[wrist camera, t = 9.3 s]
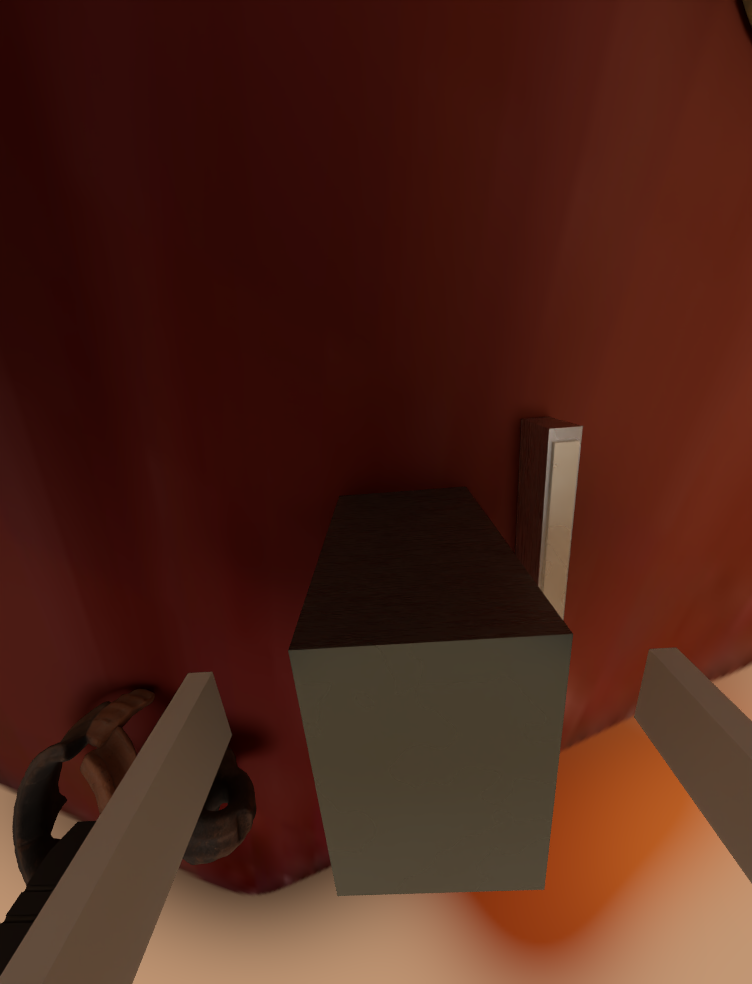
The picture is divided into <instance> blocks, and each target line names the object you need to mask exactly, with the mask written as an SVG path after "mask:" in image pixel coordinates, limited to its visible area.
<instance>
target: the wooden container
mask: <svg viewBox="0 0 752 984" xmlns="http://www.w3.org/2000/svg"><path fill="white" fill-rule="evenodd" d="M743 4H744V7H745V11H746V14H747V17H748V20H749V22H750V25H751V27H752V0H743Z"/></svg>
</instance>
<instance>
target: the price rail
mask: <svg viewBox="0 0 752 984" xmlns="http://www.w3.org/2000/svg"><path fill="white" fill-rule="evenodd" d="M582 428H583V426H580V425H577V424H573V423H569V422H566V421H562V420H559V419H555V418H552V417H539V418H527V419H521V434H520V456H519V478H518V500H517V522H516V545H515V555H516V556H517V558H518V559H519V560H520V562H521V563H522V565H523V566H524V567H525V569H526V570H527V571H528V573H529V574H530V576H531V577H532V578H533V580H534V581H535V582H536V584H537V585H538V587H539V588H540V589H541V591H542V592H543V593H544V595H545V596H546V598H547V599H548V600H549V602H550V603H551V604H552V606H553V607H554V609H555V610H556V611H557V613H558V614H559V615H560V617H561V618H562V620H563V618H564V608H565V598H566V588H567V578H568V568H569V558H570V548H571V538H572V528H573V518H574V508H575V498H576V488H577V478H578V468H579V458H580V448H581V438H582Z"/></svg>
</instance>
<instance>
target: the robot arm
mask: <svg viewBox="0 0 752 984" xmlns="http://www.w3.org/2000/svg"><path fill="white" fill-rule="evenodd" d="M634 718H635V719H636V720H637V722H638V723H639V724H640V726H641V727H642V729H643V730H644V732H645V733H646V734H647V736H648V737H649V739H650V740H651V742H652V743H653V744H654V746H655V747H656V749H657V750H658V751H659V753H660V754H661V756H662V757H663V758H664V760H665V761H666V763H667V764H668V765H669V767H670V768H671V770H672V771H673V773H674V774H675V776H676V777H677V778H678V780H679V781H680V783H681V784H682V785H683V787H684V788H685V790H686V791H687V793H688V794H689V795H690V797H691V798H692V800H693V801H694V802H695V804H696V805H697V807H698V808H699V809H700V811H701V812H702V814H703V815H704V817H705V818H706V819H707V821H708V822H709V824H710V825H711V826H712V828H713V829H714V831H715V832H716V833H717V835H718V836H719V838H720V839H721V841H722V842H723V843H724V845H725V846H726V848H727V849H728V850H729V852H730V853H731V855H732V856H733V858H734V859H735V860H736V862H737V863H738V865H739V866H740V867H741V869H742V870H743V872H744V873H745V875H746V876H747V877H748V879H749V880H750V881H751V883H752V721H751V720H750V719H749V718H748V717H747V716H746V715H745V714H744V713H742V712H741V710H740V709H738V707H737V706H736V705H735V704H733V703H732V702H731V701H730V700H729V699H728V698H727V697H726V696H725V695H724V694H723V693H722V692H721V691H720V690H719V689H718V688H717V687H716V686H715V685H714V684H713V683H712V682H711V681H710V680H709V679H708V678H707V677H706V676H705V675H704V674H703V673H702V672H701V671H700V670H699V669H698V668H697V667H696V666H695V665H694V664H693V663H691V662H690V661H689V660H688V659H687V658H686V657H685V656H684V655H683V654H682V653H681V652H680V651H679V650H678V649H677V648H661V649H649V653H648V657H647V662H646V666H645V671H644V675H643V680H642V684H641V689H640V693H639V698H638V702H637V707H636V711H635V716H634ZM231 736H232V733H231V730H230V727H229V724H228V720H227V717H226V714H225V711H224V708H223V704H222V701H221V698H220V695H219V692H218V688H217V685H216V682H215V679H214V676H213V672H201V673H188V674H187V676H186V678H185V679H184V681H183V682H182V684H181V686H180V687H179V689H178V691H177V692H176V694H175V695H174V697H173V699H172V700H171V702H170V703H169V705H168V707H167V708H166V710H165V712H164V713H163V715H162V716H161V718H160V720H159V721H158V723H157V724H156V726H155V728H154V729H153V731H152V732H151V734H150V736H149V737H148V739H147V741H146V742H145V744H144V745H143V747H142V749H141V750H140V752H139V753H138V755H137V757H136V758H135V760H134V761H133V763H132V765H131V766H130V768H129V770H128V771H127V773H126V774H125V776H124V778H123V779H122V781H121V782H120V784H119V786H118V787H117V789H116V790H115V792H114V794H113V795H112V797H111V799H110V800H109V802H108V803H107V805H106V807H105V808H104V810H103V811H102V813H101V815H100V816H99V818H98V819H97V821H84V822H77V823H76V824H75V825H74V826H73V827H72V828H71V829H70V831H68V832H67V834H66V835H65V836H64V837H63V838H62V839H61V840H60V841H59V842H58V843H57V844H56V845H55V846H54V847H53V848H52V849H51V850H50V851H49V853H48V854H47V856H46V857H45V858H44V860H43V861H42V863H41V864H40V866H39V867H38V869H37V870H36V872H35V873H34V875H33V876H32V878H31V879H30V881H29V882H28V884H27V885H26V886H27V887H26V889H25V891H24V892H21V894H20V895H19V897H18V898H17V900H16V901H15V903H14V904H13V906H12V907H11V909H10V910H9V912H8V913H7V915H6V919H5V921H4V922H3V923H0V984H132V983H133V980H134V978H135V975H136V973H137V970H138V968H139V965H140V963H141V960H142V958H143V955H144V953H145V950H146V948H147V945H148V943H149V940H150V938H151V935H152V933H153V930H154V928H155V925H156V923H157V920H158V918H159V915H160V913H161V910H162V908H163V905H164V903H165V900H166V898H167V896H168V893H169V891H170V888H171V886H172V883H173V881H174V878H175V875H176V873H177V871H178V868H179V866H180V863H181V861H182V858H183V856H184V853H185V851H186V848H187V846H188V843H189V841H190V838H191V836H192V833H193V831H194V828H195V826H196V823H197V821H198V818H199V816H200V813H201V811H202V808H203V806H204V803H205V801H206V798H207V796H208V793H209V791H210V788H211V786H212V783H213V781H214V778H215V776H216V774H217V771H218V769H219V766H220V764H221V761H222V759H223V756H224V754H225V751H226V749H227V746H228V744H229V741H230V739H231Z"/></svg>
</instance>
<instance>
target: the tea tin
mask: <svg viewBox="0 0 752 984" xmlns="http://www.w3.org/2000/svg"><path fill="white" fill-rule="evenodd" d="M572 638H573V633H572V632H571V631H570V629H569V628H568V626H567V625H566V624H565V622H564V621H563V620H562V618H561V617H560V615H559V614H558V613H557V611H556V610H555V609H554V607H553V606H552V604H551V603H550V602H549V600H548V599H547V598H546V596H545V595H544V593H543V592H542V591H541V589H540V588H539V587H538V585H537V584H536V582H535V581H534V580H533V578H532V577H531V576H530V574H529V573H528V571H527V570H526V569H525V567H524V566H523V565H522V563H521V562H520V560H519V559H518V558H517V556H516V555H515V554H514V552H513V551H512V549H511V548H510V547H509V545H508V544H507V543H506V541H505V540H504V538H503V537H502V536H501V534H500V533H499V532H498V530H497V529H496V527H495V526H494V525H493V523H492V522H491V521H490V519H489V518H488V516H487V515H486V514H485V512H484V511H483V509H482V508H481V507H480V505H479V504H478V503H477V501H476V500H475V498H474V497H473V496H472V494H471V493H470V492H469V490H468V489H467V487H454V488H441V489H427V490H414V491H400V492H387V493H373V494H360V495H346V496H339V499H338V502H337V505H336V508H335V511H334V514H333V517H332V520H331V523H330V526H329V529H328V532H327V535H326V538H325V541H324V544H323V547H322V550H321V553H320V556H319V559H318V562H317V565H316V568H315V571H314V574H313V577H312V580H311V583H310V586H309V589H308V592H307V595H306V598H305V601H304V605H303V608H302V611H301V614H300V617H299V620H298V623H297V626H296V629H295V632H294V635H293V638H292V641H291V644H290V647H289V650H288V651H289V656H290V661H291V666H292V671H293V676H294V681H295V686H296V691H297V696H298V701H299V706H300V711H301V716H302V721H303V726H304V731H305V736H306V741H307V746H308V751H309V756H310V761H311V766H312V771H313V776H314V781H315V786H316V791H317V796H318V801H319V806H320V811H321V816H322V821H323V826H324V831H325V836H326V841H327V846H328V851H329V856H330V861H331V866H332V871H333V876H334V881H335V886H336V891H337V895H338V896H347V895H380V894H413V893H445V892H477V891H478V892H479V891H511V890H544V886H545V878H546V869H547V861H548V852H549V842H550V834H551V824H552V816H553V806H554V798H555V789H556V780H557V772H558V763H559V754H560V745H561V736H562V727H563V718H564V709H565V700H566V691H567V683H568V674H569V665H570V656H571V647H572Z"/></svg>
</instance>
